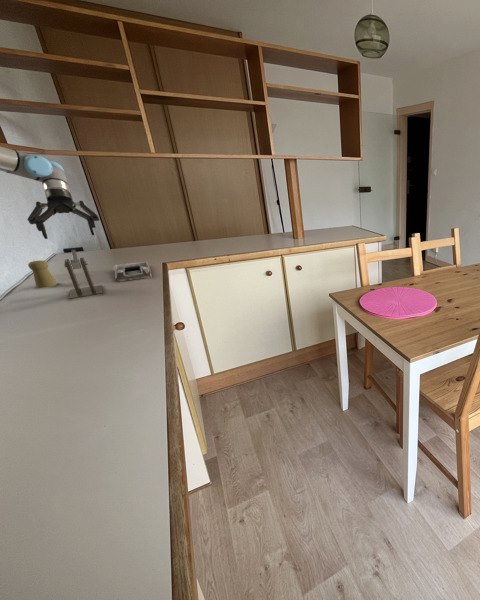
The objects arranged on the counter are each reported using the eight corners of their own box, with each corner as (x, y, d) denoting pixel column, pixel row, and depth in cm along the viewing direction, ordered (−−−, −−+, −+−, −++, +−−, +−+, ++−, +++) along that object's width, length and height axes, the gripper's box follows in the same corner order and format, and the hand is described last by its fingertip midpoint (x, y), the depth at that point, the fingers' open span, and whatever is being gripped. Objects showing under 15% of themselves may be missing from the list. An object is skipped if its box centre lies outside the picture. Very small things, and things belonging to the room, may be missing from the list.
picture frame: (149, 266, 158) (147, 261, 157) (154, 278, 141) (152, 272, 139) (114, 271, 150) (112, 265, 149) (115, 284, 132) (113, 277, 131)
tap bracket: (71, 292, 122) (58, 258, 117) (102, 287, 128) (90, 254, 123) (70, 301, 114) (55, 264, 109) (103, 295, 120) (90, 260, 115)
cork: (32, 288, 125) (20, 262, 121) (51, 284, 131) (40, 258, 127) (43, 290, 124) (32, 263, 120) (62, 285, 130) (51, 259, 126)
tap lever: (64, 252, 122) (62, 247, 121) (84, 250, 125) (81, 245, 124) (67, 270, 115) (64, 264, 114) (87, 267, 118) (85, 262, 117)
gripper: (100, 199, 141) (112, 237, 137) (17, 201, 126) (27, 244, 121) (96, 187, 136) (108, 226, 131) (8, 187, 120) (19, 232, 115)
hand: (69, 235), depth 126 cm, fingers open, 13 cm apart
